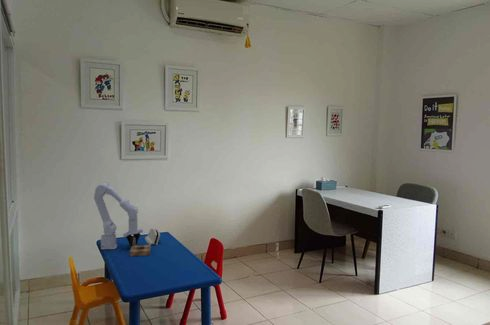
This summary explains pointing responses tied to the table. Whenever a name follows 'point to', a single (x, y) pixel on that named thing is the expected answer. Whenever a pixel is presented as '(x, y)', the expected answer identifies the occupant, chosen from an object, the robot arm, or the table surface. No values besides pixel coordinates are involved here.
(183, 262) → the table surface
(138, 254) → the block
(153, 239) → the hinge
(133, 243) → the pin
